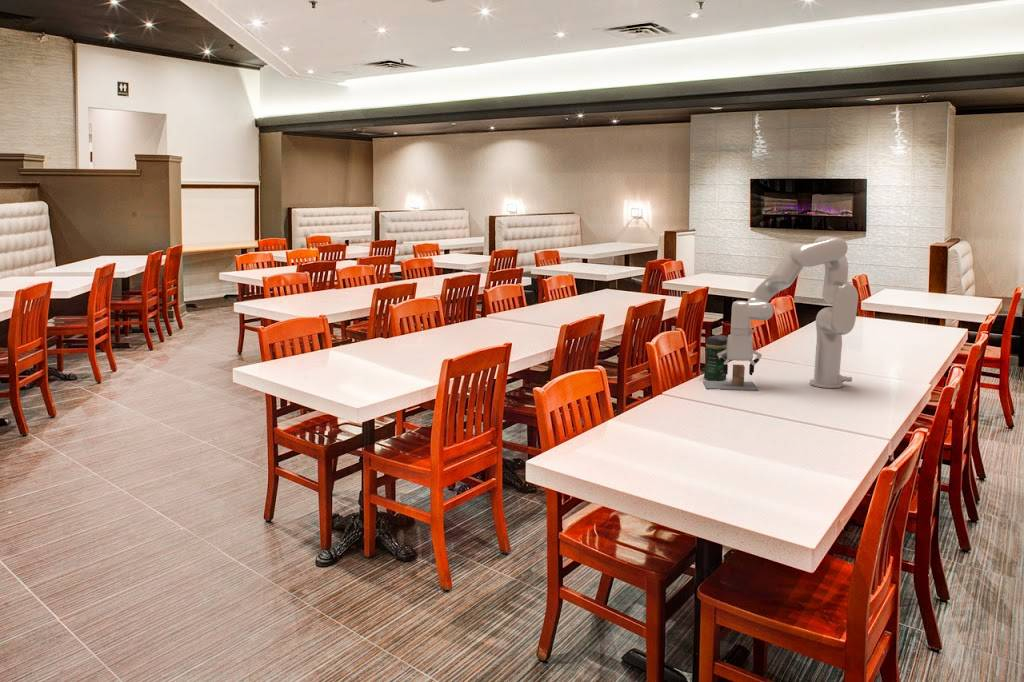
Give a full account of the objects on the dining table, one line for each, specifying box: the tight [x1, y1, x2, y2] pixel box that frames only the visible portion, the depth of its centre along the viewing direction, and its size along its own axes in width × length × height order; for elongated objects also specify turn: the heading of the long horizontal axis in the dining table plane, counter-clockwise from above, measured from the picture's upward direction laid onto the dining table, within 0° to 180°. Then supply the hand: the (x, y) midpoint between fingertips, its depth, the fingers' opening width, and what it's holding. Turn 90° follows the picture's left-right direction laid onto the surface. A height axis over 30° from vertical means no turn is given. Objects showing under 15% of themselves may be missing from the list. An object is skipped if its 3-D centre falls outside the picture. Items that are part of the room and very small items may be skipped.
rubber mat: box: [702, 380, 759, 392], centre depth 304 cm, size 20×13×1 cm, turn 83°
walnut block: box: [731, 364, 746, 386], centre depth 303 cm, size 4×4×8 cm
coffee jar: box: [703, 334, 728, 381], centre depth 315 cm, size 10×8×19 cm
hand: (738, 374), depth 303 cm, fingers open, 9 cm apart
